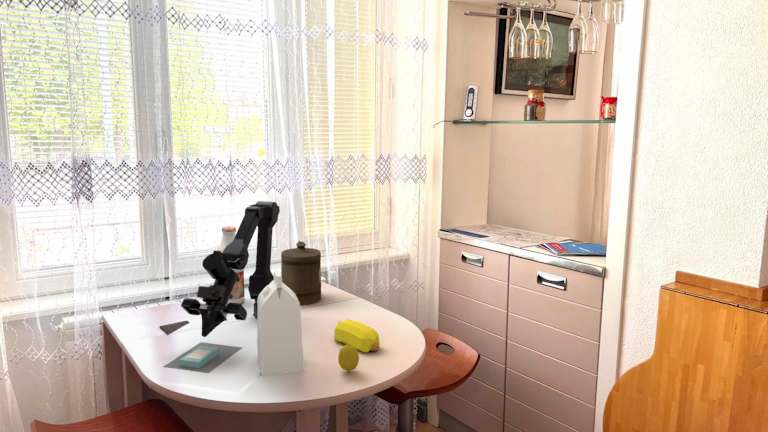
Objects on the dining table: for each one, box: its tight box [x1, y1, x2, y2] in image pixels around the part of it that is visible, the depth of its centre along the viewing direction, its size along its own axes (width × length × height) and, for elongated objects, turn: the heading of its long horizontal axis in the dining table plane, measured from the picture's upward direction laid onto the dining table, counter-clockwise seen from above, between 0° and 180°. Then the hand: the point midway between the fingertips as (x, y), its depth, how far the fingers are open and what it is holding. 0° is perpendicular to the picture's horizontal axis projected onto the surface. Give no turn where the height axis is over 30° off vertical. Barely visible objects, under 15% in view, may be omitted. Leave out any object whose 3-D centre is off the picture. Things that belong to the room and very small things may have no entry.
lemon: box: [337, 344, 360, 373], centre depth 156 cm, size 6×6×8 cm
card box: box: [179, 346, 219, 368], centre depth 162 cm, size 2×6×10 cm
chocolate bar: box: [159, 320, 191, 336], centre depth 184 cm, size 9×1×18 cm
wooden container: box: [280, 241, 322, 306], centre depth 217 cm, size 15×15×22 cm
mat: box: [162, 342, 243, 374], centre depth 165 cm, size 18×14×1 cm
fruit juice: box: [216, 226, 246, 305], centre depth 212 cm, size 9×9×28 cm
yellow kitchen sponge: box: [333, 318, 381, 354], centre depth 175 cm, size 18×7×8 cm
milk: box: [256, 270, 305, 377], centre depth 159 cm, size 12×12×26 cm
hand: (203, 336), depth 164 cm, fingers closed
